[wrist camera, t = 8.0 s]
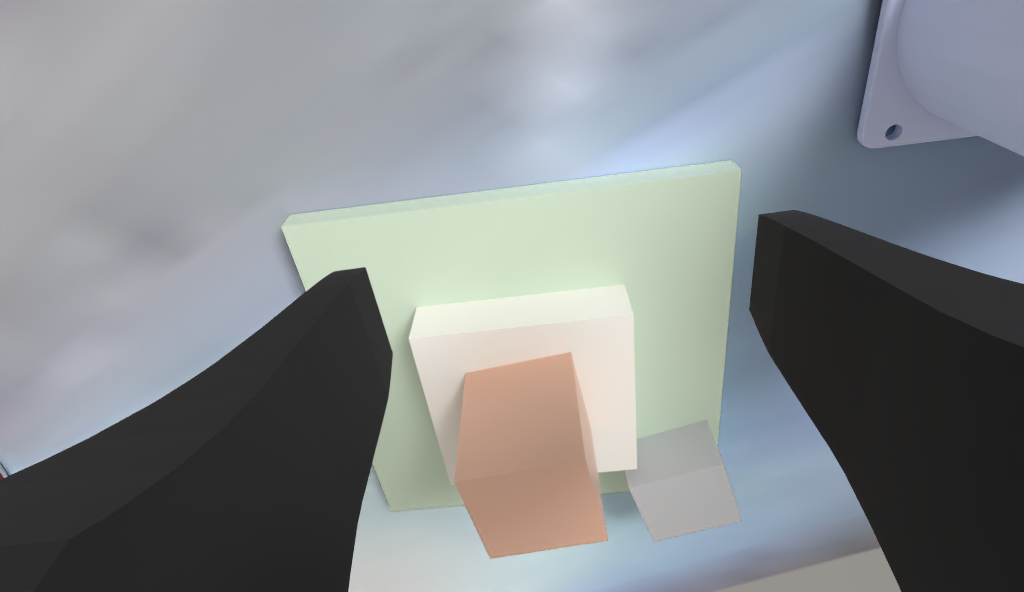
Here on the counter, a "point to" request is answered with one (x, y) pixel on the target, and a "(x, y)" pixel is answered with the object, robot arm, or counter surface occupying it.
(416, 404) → the baseplate
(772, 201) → the counter surface
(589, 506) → the salmon pink block
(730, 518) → the grey brick
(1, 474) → the soda can
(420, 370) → the cream square slab
